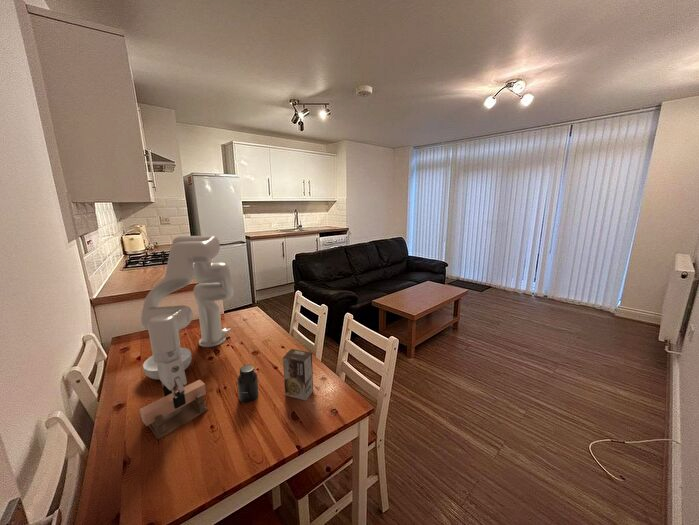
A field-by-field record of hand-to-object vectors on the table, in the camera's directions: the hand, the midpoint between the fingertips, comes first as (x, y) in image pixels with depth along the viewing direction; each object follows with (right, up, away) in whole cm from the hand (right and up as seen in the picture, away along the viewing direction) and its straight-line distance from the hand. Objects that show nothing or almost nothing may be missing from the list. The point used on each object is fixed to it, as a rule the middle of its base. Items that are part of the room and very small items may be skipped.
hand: (174, 400), depth 90 cm
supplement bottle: (+21, -4, +10) cm, 24 cm away
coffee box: (+39, -4, +13) cm, 41 cm away
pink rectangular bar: (0, -2, +1) cm, 2 cm away
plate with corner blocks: (0, -6, +1) cm, 6 cm away
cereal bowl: (-17, -1, +24) cm, 30 cm away
